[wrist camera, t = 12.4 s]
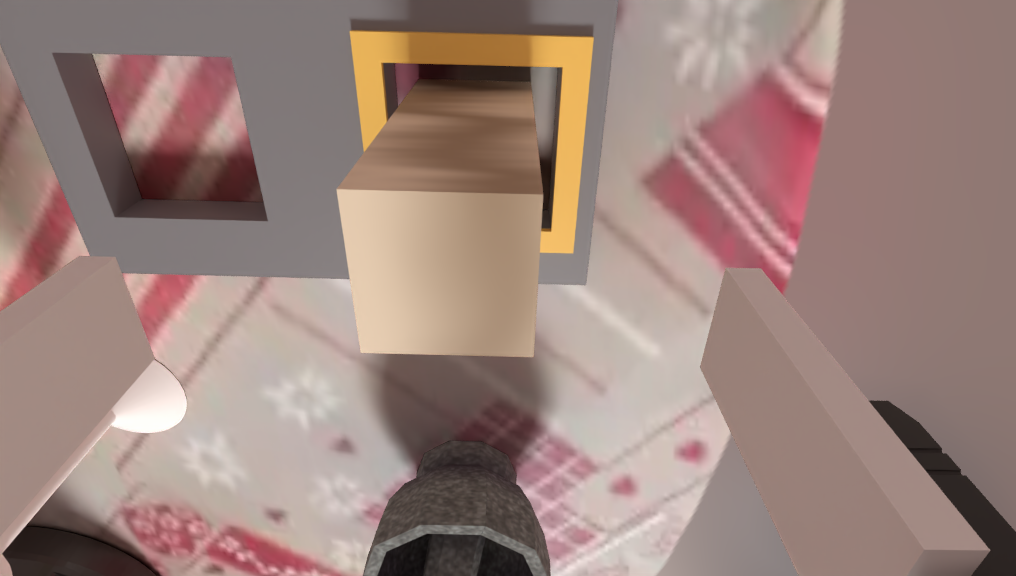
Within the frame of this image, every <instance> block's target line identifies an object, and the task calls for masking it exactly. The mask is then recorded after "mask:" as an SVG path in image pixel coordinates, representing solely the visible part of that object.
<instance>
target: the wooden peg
mask: <svg viewBox="0 0 1016 576" xmlns="http://www.w3.org/2000/svg"><path fill="white" fill-rule="evenodd" d="M336 190H337V196H338V203H339V210H340V217H341V223H342V230H343V237H344V244H345V250H346V257H347V264H348V271H349V277H350V284H351V291H352V298H353V304H354V311H355V318H356V324H357V331H358V338H359V345H360V351H361V353H387V354H426V355H465V356H504V357H534V342H535V326H536V309H537V292H538V275H539V258H540V241H541V225H542V208H543V188H542V179H541V170H540V160H539V151H538V142H537V133H536V124H535V115H534V106H533V97H532V88H531V82H521V81H482V80H444V79H419V80H418V81H417V82H416V84H415V85H414V86H413V88H412V89H411V90H410V92H409V93H408V94H407V96H406V97H405V98H404V100H403V101H402V102H401V104H400V105H399V106H398V108H397V109H396V110H395V112H394V113H393V114H392V116H391V117H390V118H389V120H388V121H387V122H386V124H385V125H384V126H383V128H382V129H381V130H380V132H379V133H378V134H377V136H376V137H375V138H374V140H373V141H372V142H371V144H370V145H369V146H368V148H367V149H366V150H365V152H364V153H363V154H362V156H361V157H360V158H359V160H358V161H357V163H356V164H355V165H354V167H353V168H352V169H351V171H350V172H349V173H348V175H347V176H346V177H345V179H344V180H343V181H342V183H341V184H340V185H339V187H338V188H337V189H336Z"/></svg>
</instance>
